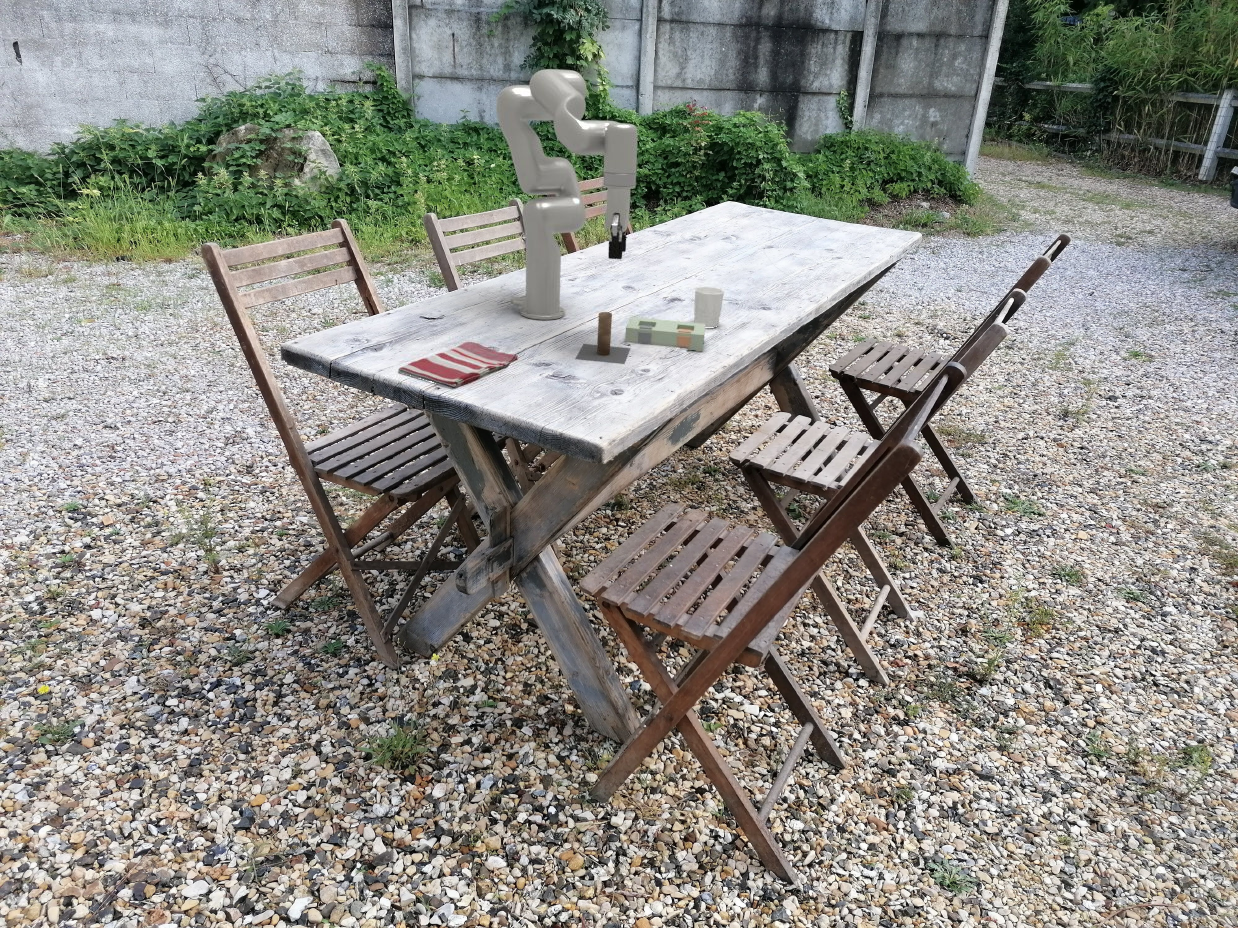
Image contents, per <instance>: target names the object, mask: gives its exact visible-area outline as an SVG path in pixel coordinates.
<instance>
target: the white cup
mask: <svg viewBox="0 0 1238 928" xmlns="http://www.w3.org/2000/svg"><path fill="white" fill-rule="evenodd" d="M724 293H725V291H724V290H723V289H722V288H718V287H714V286H699V287H696V288H695V293H694V309H693V310H694V311H693V313H694V315H693V316H694V320H693V323H702V324H706V326H705V327H716V326H718V327H719V321H720V317H721V311H722V308H723V301H724V300H723V299H724Z"/></svg>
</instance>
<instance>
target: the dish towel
mask: <svg viewBox="0 0 1238 928" xmlns="http://www.w3.org/2000/svg"><path fill="white" fill-rule="evenodd" d="M518 358H519V357H518V354H512V353H505V352H502V351H501V352H500V351H497V350H494V349H491V348H488V347H487V346H485V345H484V346H483V345H482V344H480V343H478V342H474V341H467V342H463V343H462V344H460V345H458V346H456V347H453V348H451V349H447V350H446V351H443V352H439V353H435V354H434V355H430V356H428V357H424V358H420V359H418V360H415V361H412V362H410V363H408V364H406V365H404V366H402V367H399V368H398V369H397V370H398V371H397V372H398V373H399V372H400V374H402V373H404V374H403V375H405V374H407V375H406V376H408V375H411V376H414V377H417V378H421V379H424V380H427V381H432V382H434V383H436V384H438V385H437V386H439V385H440V387H443V386H444V387H443V388H446V387H447V389H449V388H450V390H452V389H455V388H458V387H462V386H463V387H464V386H466V385H468V384H471V383H474V382H476V381H478V380H479V379H481V378H483V377H486V376H489V375H492V374H494V373H496V372H498V371H501V370H503V369H505V368H508V367H509V366H510V365H511V363H513V362H515V361H518V360H519V359H518ZM411 376H410V377H411ZM414 377H413V378H414ZM417 378H416V379H417ZM427 381H426V382H427ZM436 384H435V385H436ZM451 388H452V389H451Z"/></svg>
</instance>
